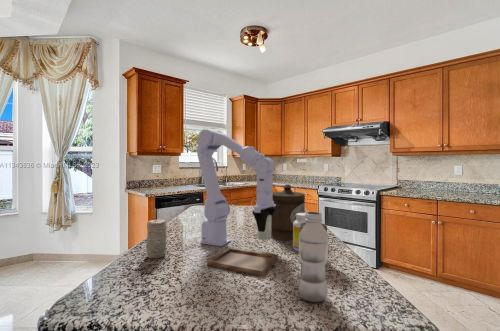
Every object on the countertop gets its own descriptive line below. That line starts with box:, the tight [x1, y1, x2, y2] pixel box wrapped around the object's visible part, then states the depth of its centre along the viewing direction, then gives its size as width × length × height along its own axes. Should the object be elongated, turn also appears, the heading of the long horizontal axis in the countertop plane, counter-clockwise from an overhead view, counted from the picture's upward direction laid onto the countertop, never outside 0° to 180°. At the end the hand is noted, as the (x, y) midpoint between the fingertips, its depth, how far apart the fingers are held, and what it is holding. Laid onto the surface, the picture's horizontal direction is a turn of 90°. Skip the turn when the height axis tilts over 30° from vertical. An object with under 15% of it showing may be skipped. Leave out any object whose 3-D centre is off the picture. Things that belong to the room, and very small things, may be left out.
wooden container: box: [271, 184, 306, 241], centre depth 113 cm, size 15×15×22 cm
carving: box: [145, 218, 168, 260], centre depth 88 cm, size 6×8×12 cm
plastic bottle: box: [297, 211, 329, 303], centre depth 61 cm, size 6×7×20 cm
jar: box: [298, 222, 329, 266], centre depth 83 cm, size 9×8×12 cm
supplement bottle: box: [292, 212, 306, 252], centre depth 96 cm, size 7×7×13 cm
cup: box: [256, 214, 272, 241], centre depth 94 cm, size 5×5×8 cm
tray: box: [206, 246, 279, 278], centre depth 83 cm, size 18×14×2 cm
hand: (264, 229), depth 94 cm, fingers closed on cup, 5 cm apart
